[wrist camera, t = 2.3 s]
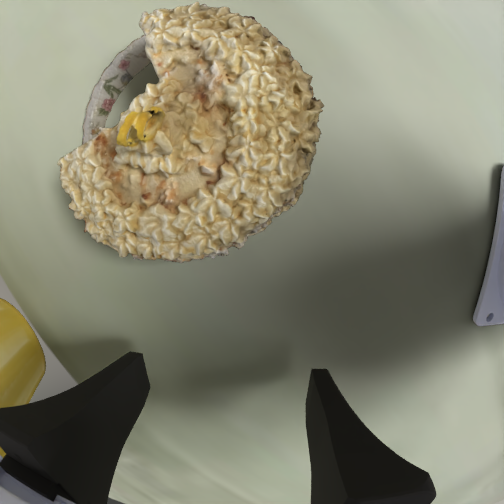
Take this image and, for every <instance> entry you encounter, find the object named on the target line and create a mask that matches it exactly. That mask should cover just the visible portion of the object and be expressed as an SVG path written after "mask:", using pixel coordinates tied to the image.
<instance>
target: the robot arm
mask: <svg viewBox="0 0 504 504" xmlns="http://www.w3.org/2000/svg"><path fill="white" fill-rule="evenodd" d="M488 315H489V316H488ZM487 316H488V317H487ZM473 321H474V322H475V323H476V324H477V326H487V325H497V324H504V166H503V168H502V172H501V184H500V195H499V204H498V211H497V218H496V225H495V231H494V237H493V242H492V247H491V252H490V257H489V261H488V266H487V270H486V274H485V278H484V282H483V285H482V289H481V293H480V296H479V299H478V303H477V306H476V309H475V312H474V316H473ZM149 390H150V384H149V380H148V376H147V372H146V367H145V363H144V359H143V354H142V353H136V352H129V353H127V354H125V355H124V356H122V357H121V358H119V359H118V360H117V361H115V362H114V363H112V364H111V365H109V366H108V367H106V368H105V369H103V370H102V371H100V372H99V373H97V374H96V375H94V376H92V377H91V378H89V379H87V380H86V381H84V382H82V383H80V384H79V385H77V386H75V387H73V388H71V389H69V390H67V391H65V392H62V393H60V394H58V395H55V396H52V397H50V398H46V399H44V400H41V401H37V402H34V403H29V404H25V405H19V406H12V407H4V408H0V447H1V448H2V449H3V451H4V452H5V453H6V455H5V456H4V458H3V457H2V456H1V455H0V504H107V500H108V495H109V491H110V487H111V483H112V479H113V475H114V472H115V469H116V466H117V462H118V460H119V457H120V454H121V451H122V448H123V446H124V444H125V442H126V440H127V438H128V436H129V434H130V432H131V430H132V428H133V426H134V424H135V422H136V420H137V418H138V417H139V415H140V413H141V411H142V409H143V407H144V404H145V402H146V399H147V396H148V393H149ZM306 429H307V437H308V445H309V454H310V462H311V504H430V503H431V502H432V501H433V500H434V499H435V497H436V491H435V487H434V484H433V482H432V479H431V477H430V475H429V473H428V472H426V471H424V470H422V469H420V468H418V467H417V466H415V465H413V464H411V463H409V462H408V461H406V460H405V459H403V458H402V457H400V456H399V455H397V454H396V453H395V452H394V451H392V450H391V449H390V448H389V447H387V446H386V445H385V444H384V443H382V442H381V441H380V440H379V439H378V438H377V437H376V436H375V435H374V434H373V433H372V432H371V431H370V430H369V429H368V428H367V427H366V426H365V425H364V423H363V422H362V421H361V420H360V419H359V417H358V416H357V415H356V414H355V412H354V411H353V410H352V408H351V407H350V406H349V404H348V403H347V401H346V400H345V398H344V397H343V395H342V394H341V392H340V391H339V389H338V387H337V386H336V384H335V382H334V381H333V379H332V377H331V375H330V373H329V371H328V370H327V369H312V370H311V376H310V381H309V387H308V393H307V398H306Z"/></svg>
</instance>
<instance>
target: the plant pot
mask: <svg viewBox="0 0 504 504" xmlns="http://www.w3.org/2000/svg"><path fill="white" fill-rule="evenodd" d="M45 369H46V362H45V356H44V353H43V350H42V347H41V345H40V343H39V340H38V338H37V336H36V335H35V333H34V331H33V329H32V328H31V326H30V325H29V323H28V322H27V321H26V319H25V318H24V317H23V315H21V313H20V312H19V311H18V310H17V309H16V308H15V307H14V306H13V305H11V304H10V303H9V302H7V301H6V300H4V299H1V298H0V408H4V407H12V406H19V405H25V404H29V402H30V399H31V398H32V396H33V394H34V392H35V390H36V388H37V386H38V385H39V383H40V381H41V379H42V377H43V376H44V373H45ZM0 455H1V456H2V457H3V458H4V456H5V455H6V453H5V452H4V451H3V449H2V448H1V447H0Z"/></svg>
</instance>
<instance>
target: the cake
mask: <svg viewBox="0 0 504 504" xmlns="http://www.w3.org/2000/svg"><path fill="white" fill-rule="evenodd" d="M139 26H140V28H141V29H142V30H143V32H144V34H145V35H143V36H142V37H141V38H138V39H136V40H134V41H133V42H132V43H131V44H130V45H128V46H127V48H126V49H124V50H123V51H121V52H119V53H118V54H117V55H116V57H115V59H114V60H113V62H111V64H110V65H109V66H108V67H107V68H106V69H105V70H104V71H103V73H102V75H101V78H100V80H99V82H98V83H97V84H96V85H95V87H94V89H93V92H92V95H91V100H90V101H89V102H88V106H87V108H86V117H85V120H84V124H83V130H84V136H83V144H82V145H81V146H79V147H78V148H76V149H74V150H73V151H72V152H70V153H68V154H66V155H65V156H63V157H62V158H60V160H59V161H58V162H57V165H59V166H60V167H61V170H60V171H61V173H60V180H61V182H62V183H61V186H62V188H63V189H65V192H66V193H67V194H69V195H70V197H71V198H72V201H71V203H70V204H69V209H72V210H73V211H74V217H75V219H83V220H84V221H85V230H84V232H89V233H90V234H91V237H92V238H93V239H95V240H96V242H97V243H99V242H102V243H103V244H104V245H108V246H110V247H112V248H113V249H115V250H117V251H118V253H119V256H120V257H123V258H124V257H126V256H127V255H128V254H129V253H131V254H132V256H133V257H134V260H135V259H140V260H143V258H144V259H148V260H150V259H151V260H156V258H157V259H163V260H165V261H172V262H179V263H182V262H184V261H187V262H189V261H191V260H192V259H200V260H201V259H203V258H204V257H209V256H210V257H211V258H214V257H215V256H217V255H218V256H224V255H226V256H227V255H229V251H228V250H227V248H230V247H231V246H235V247H236V248H238V249H240V248H241V247H243V246H244V242H246V241H247V239H248V237H247V236H251V235H255V234H257V233H259V232H261V231H264V230H265V229H266V227H267V226H268V225H269V224H271V223H272V221H271V219H272V218H273V217H277V216H279V215H280V214H281V212H284V211H287V210H289V209H290V206H292V205H295V204H296V202H297V201H298V199H299V196H300V195H301V194H302V192H303V184H304V180H306V179H307V177H308V175H309V174H310V168H311V164H312V162H313V157H314V155H315V154H316V148H315V146H316V144H315V142H319V139H318V138H320V135H321V131H320V129H319V128H318V127H317V122H319V120H318V119H319V118H318V117H319V113H320V112H322V111H323V110H321V108H323V107H324V105H323V103H322V102H321V100H316V98H315V97H314V98H313V95H314V93H313V87H311V86H310V83H311V80H312V78H313V77H312V76H311V75H309V74H306V73H305V72H303V70H302V66H300V63H298V62H297V61H296V60H294V59H293V57H292V56H291V54H290V53H291V52H290V50H289V49H288V48H287V47H284V46H283V45H282V43H281V42H280V41H278V39H277V38H276V37H275V36H274V35H273V34H272V33H271V32H269V30H268V29H267V28H265V27H264V28H263V27H262V26H261V24H260V23H258V22H257V21H256V20H255V18H254V17H252V16H250V17H248V16H244V17H242V16H241V15H239V13H231V12H230V8H228V7H220V8H216V7H215V8H214V7H208V6H207V5H206V4H203V5H199V2H195V3H194V4H192V5H189V6H181V7H176V8H175V9H170V10H168V9H156V10H154V11H153V12H152V13H150V14H148V13H147V12H143V14H142V17H141V19H140V21H139ZM151 62H152V64H153V66H154V70H155V72H156V74H157V76H158V78H159V82H158V83H157V84H150V83H148V84H147V85H146V90H145V93H143V94H139V95H138V96H137V97H136V98H134V99H133V101H132V102H131V103H130V106H129V108H128V110H127V111H126V112H122V113H121V114H120V121H119V123H118V124H117V125H116V126H115V127H113V128H105V122H106V120H107V117H108V115H109V113H110V112H111V108H112V106H113V104H114V102H115V101H116V99H117V97H118V96H119V94H120V93H121V92H122V91H123V89H124V88H125V86H126V85H127V84H128V83H129V81H130V80H131V79H133V77H134V76H135V75H137V74H138V73H139V72H140V71H141V70H143V69H144V67H146V66H148V64H149V63H151ZM145 135H146V137H145V138H144V136H145ZM292 207H293V206H292Z"/></svg>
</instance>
